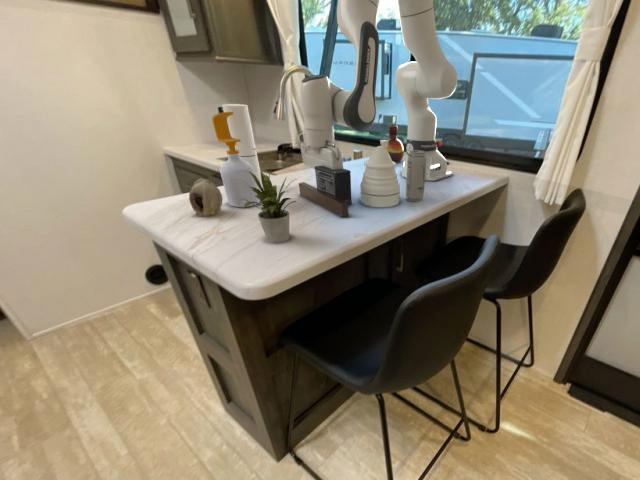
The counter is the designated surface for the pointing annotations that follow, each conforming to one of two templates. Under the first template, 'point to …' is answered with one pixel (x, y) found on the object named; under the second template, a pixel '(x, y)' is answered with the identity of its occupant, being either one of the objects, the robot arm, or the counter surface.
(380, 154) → the honey pot
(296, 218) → the counter surface
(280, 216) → the house plant
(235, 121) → the cylindrical container
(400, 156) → the vase
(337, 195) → the small box
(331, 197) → the back rail
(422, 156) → the energy drink can
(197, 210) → the round stone pot
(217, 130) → the spray bottle
